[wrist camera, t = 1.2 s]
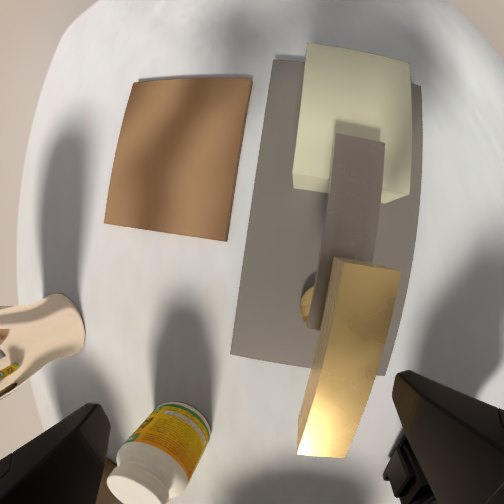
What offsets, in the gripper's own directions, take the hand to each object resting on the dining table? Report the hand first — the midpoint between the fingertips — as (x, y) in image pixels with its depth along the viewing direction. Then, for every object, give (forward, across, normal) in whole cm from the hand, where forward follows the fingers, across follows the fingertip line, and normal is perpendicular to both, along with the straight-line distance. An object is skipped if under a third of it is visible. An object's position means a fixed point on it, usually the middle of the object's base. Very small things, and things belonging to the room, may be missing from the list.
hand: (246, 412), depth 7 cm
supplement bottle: (+12, +7, +13) cm, 19 cm away
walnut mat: (+16, +4, -9) cm, 19 cm away
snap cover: (+13, -8, -8) cm, 17 cm away
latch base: (+13, -7, -3) cm, 15 cm away
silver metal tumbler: (+16, +18, +4) cm, 24 cm away
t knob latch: (+11, -6, -1) cm, 12 cm away
